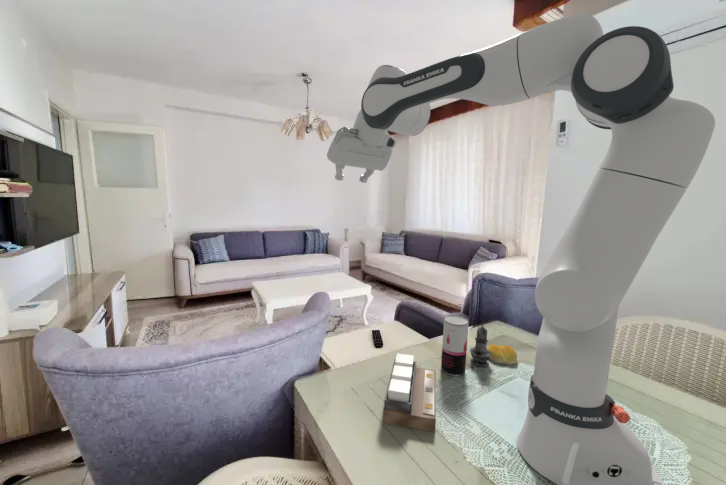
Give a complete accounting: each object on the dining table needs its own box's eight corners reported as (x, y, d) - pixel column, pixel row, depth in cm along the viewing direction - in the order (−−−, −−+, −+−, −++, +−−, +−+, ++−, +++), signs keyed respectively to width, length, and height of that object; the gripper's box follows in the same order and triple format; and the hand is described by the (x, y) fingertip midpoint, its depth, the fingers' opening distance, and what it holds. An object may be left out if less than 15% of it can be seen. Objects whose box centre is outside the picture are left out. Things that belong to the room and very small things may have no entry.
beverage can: (470, 373, 87) (473, 322, 84) (451, 378, 84) (454, 326, 82) (454, 362, 93) (457, 314, 90) (436, 366, 90) (439, 317, 88)
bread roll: (483, 350, 100) (484, 338, 100) (513, 354, 99) (514, 342, 98) (487, 363, 92) (488, 351, 92) (519, 367, 91) (521, 355, 90)
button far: (413, 364, 82) (413, 355, 82) (412, 373, 78) (412, 364, 78) (396, 362, 83) (397, 353, 83) (394, 371, 79) (395, 361, 79)
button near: (410, 391, 71) (410, 381, 70) (408, 404, 67) (408, 393, 66) (390, 388, 72) (391, 378, 71) (388, 400, 68) (388, 390, 67)
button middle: (411, 377, 77) (412, 367, 76) (410, 387, 72) (410, 377, 72) (394, 374, 78) (394, 365, 77) (391, 384, 73) (392, 374, 73)
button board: (434, 380, 83) (435, 363, 82) (435, 432, 65) (436, 410, 64) (393, 374, 85) (394, 357, 85) (382, 422, 67) (383, 401, 66)
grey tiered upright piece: (486, 358, 95) (489, 321, 93) (492, 369, 89) (496, 329, 87) (467, 357, 95) (469, 320, 94) (471, 367, 90) (474, 328, 88)
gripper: (347, 129, 72) (328, 183, 78) (400, 143, 87) (381, 187, 93) (332, 120, 76) (315, 172, 82) (385, 135, 91) (367, 178, 97)
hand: (350, 180), depth 88 cm, fingers open, 8 cm apart
